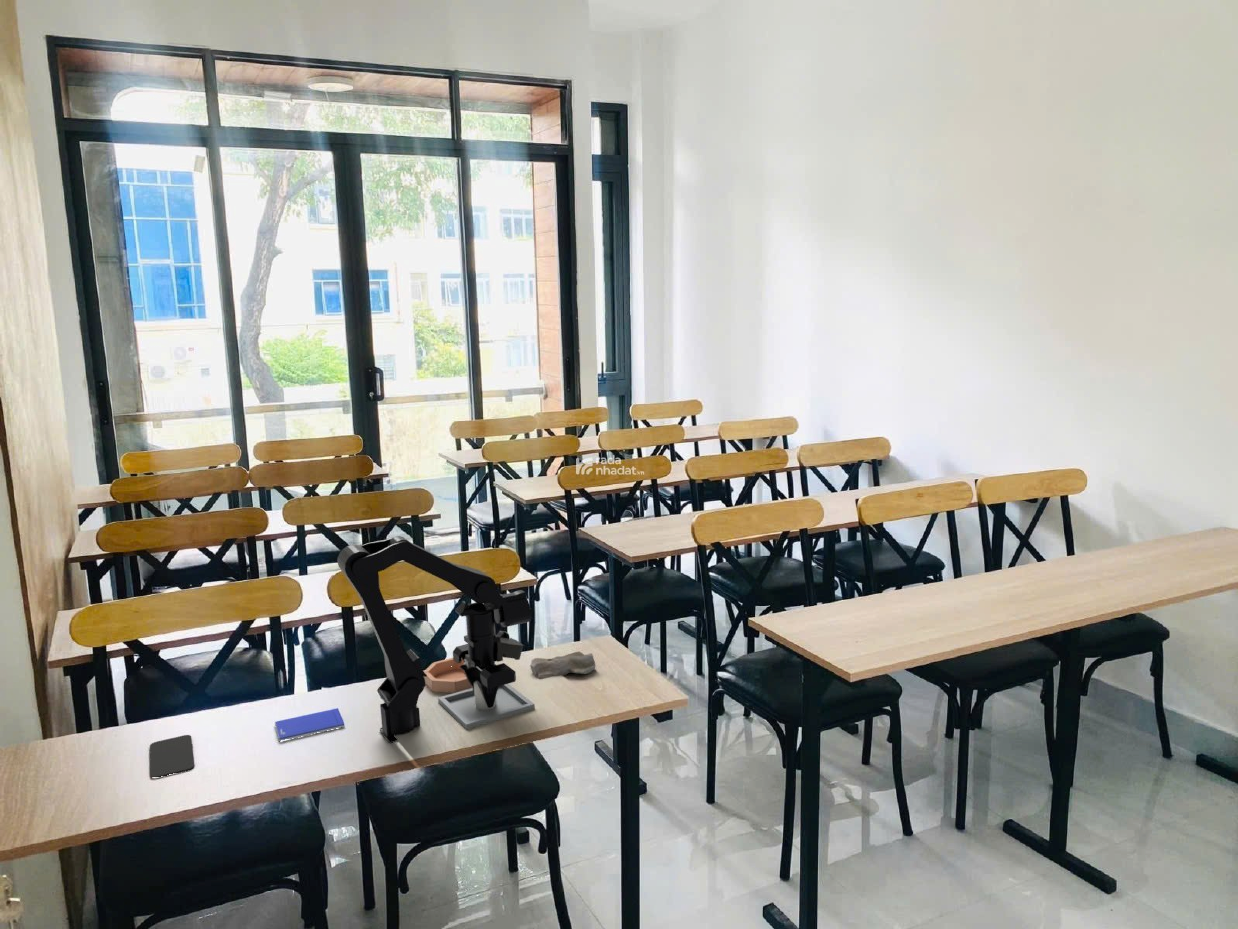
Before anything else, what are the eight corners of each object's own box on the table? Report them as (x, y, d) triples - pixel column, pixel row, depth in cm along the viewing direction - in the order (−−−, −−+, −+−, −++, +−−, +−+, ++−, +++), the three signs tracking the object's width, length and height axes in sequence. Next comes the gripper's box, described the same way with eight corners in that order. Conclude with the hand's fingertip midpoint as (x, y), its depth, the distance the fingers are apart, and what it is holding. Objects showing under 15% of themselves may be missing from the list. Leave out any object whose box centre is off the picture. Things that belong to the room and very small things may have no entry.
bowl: (439, 702, 186) (438, 686, 185) (418, 681, 197) (417, 666, 196) (495, 686, 193) (494, 671, 192) (471, 667, 203) (470, 653, 203)
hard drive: (278, 737, 170) (344, 722, 176) (274, 720, 177) (337, 707, 183) (279, 745, 170) (345, 730, 176) (275, 728, 178) (338, 714, 183)
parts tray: (467, 734, 171) (466, 724, 171) (438, 706, 184) (438, 697, 183) (535, 713, 179) (534, 704, 179) (503, 688, 191) (502, 679, 191)
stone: (534, 686, 193) (533, 669, 192) (527, 669, 202) (526, 653, 201) (598, 677, 196) (598, 660, 196) (589, 661, 206) (588, 644, 205)
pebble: (480, 712, 178) (479, 689, 177) (471, 704, 182) (470, 681, 181) (500, 706, 180) (498, 683, 180) (491, 698, 184) (489, 676, 183)
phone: (149, 778, 158) (149, 743, 171) (150, 782, 158) (149, 747, 171) (195, 767, 161) (191, 733, 174) (195, 771, 161) (191, 737, 174)
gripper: (537, 636, 175) (541, 708, 178) (497, 611, 190) (501, 678, 193) (486, 649, 169) (490, 724, 172) (449, 622, 184) (454, 691, 187)
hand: (485, 703), depth 181 cm, fingers closed on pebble, 4 cm apart
